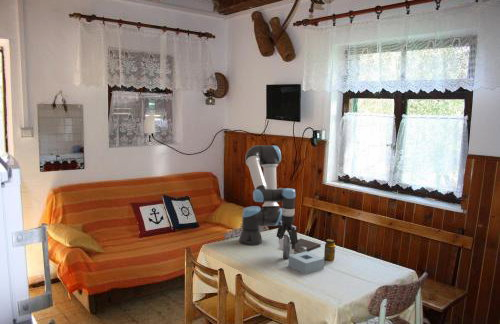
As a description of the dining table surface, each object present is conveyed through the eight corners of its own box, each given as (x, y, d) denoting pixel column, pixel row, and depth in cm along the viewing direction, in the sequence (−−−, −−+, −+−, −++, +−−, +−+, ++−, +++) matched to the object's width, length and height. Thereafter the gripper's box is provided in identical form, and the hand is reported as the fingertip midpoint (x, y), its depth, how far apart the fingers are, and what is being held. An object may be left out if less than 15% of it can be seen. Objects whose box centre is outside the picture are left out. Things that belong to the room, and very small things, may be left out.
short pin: (298, 256, 248) (298, 247, 247) (303, 255, 250) (303, 246, 249) (302, 258, 245) (303, 249, 244) (307, 257, 247) (308, 247, 246)
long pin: (281, 257, 245) (282, 235, 243) (286, 256, 247) (287, 234, 246) (285, 259, 242) (286, 236, 240) (290, 258, 244) (291, 235, 243)
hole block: (288, 265, 233) (288, 255, 232) (306, 261, 241) (306, 251, 240) (305, 274, 221) (306, 263, 221) (323, 268, 230) (324, 258, 229)
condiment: (337, 260, 244) (338, 240, 242) (327, 262, 239) (328, 243, 238) (328, 256, 250) (329, 237, 248) (318, 259, 245) (319, 239, 244)
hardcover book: (279, 249, 262) (279, 245, 262) (300, 241, 279) (301, 238, 279) (299, 255, 251) (299, 252, 251) (320, 247, 268) (320, 244, 268)
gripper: (271, 211, 248) (269, 247, 251) (295, 219, 231) (294, 258, 233) (280, 210, 252) (279, 245, 255) (305, 218, 235) (303, 256, 238)
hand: (286, 251), depth 244 cm, fingers open, 9 cm apart
